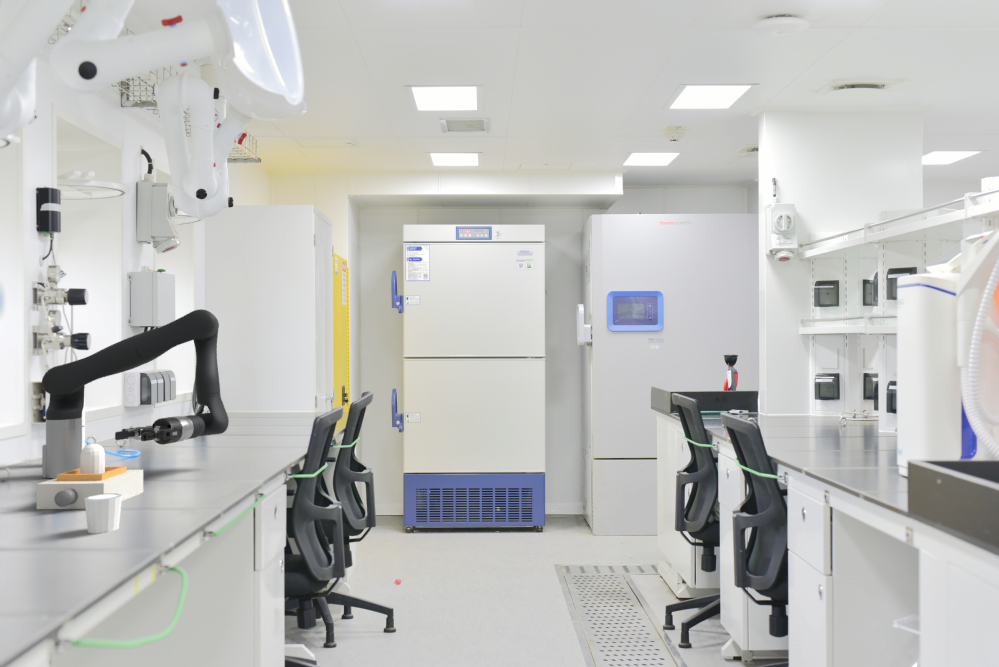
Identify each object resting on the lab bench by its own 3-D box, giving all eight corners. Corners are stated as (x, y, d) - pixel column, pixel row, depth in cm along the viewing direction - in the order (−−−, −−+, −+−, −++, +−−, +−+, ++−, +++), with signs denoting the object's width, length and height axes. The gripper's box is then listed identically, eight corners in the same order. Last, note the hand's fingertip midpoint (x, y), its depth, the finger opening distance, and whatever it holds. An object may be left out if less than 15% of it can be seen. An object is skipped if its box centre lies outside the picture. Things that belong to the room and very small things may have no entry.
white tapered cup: (126, 529, 144) (126, 495, 144) (90, 536, 139) (90, 501, 139) (115, 523, 148) (115, 491, 149) (79, 530, 143) (79, 496, 144)
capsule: (96, 472, 175) (96, 441, 176) (109, 474, 173) (109, 442, 173) (75, 476, 171) (75, 444, 171) (88, 478, 168) (88, 445, 168)
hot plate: (27, 512, 160) (27, 480, 160) (82, 493, 181) (82, 464, 181) (96, 511, 160) (96, 479, 160) (143, 492, 181) (143, 463, 181)
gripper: (152, 416, 201) (107, 421, 186) (193, 417, 198) (151, 423, 182) (152, 441, 201) (107, 449, 186) (193, 443, 197) (150, 451, 182)
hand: (129, 436), depth 184 cm, fingers open, 8 cm apart
